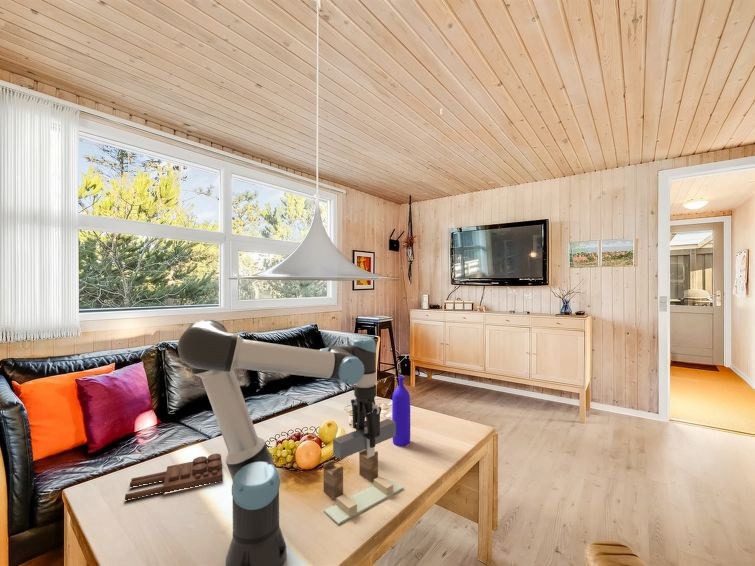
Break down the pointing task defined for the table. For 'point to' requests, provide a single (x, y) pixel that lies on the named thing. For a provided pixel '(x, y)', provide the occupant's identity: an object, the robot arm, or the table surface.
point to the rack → (335, 475)
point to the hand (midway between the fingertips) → (366, 453)
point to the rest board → (362, 500)
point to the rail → (361, 439)
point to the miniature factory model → (181, 476)
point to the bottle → (401, 414)
